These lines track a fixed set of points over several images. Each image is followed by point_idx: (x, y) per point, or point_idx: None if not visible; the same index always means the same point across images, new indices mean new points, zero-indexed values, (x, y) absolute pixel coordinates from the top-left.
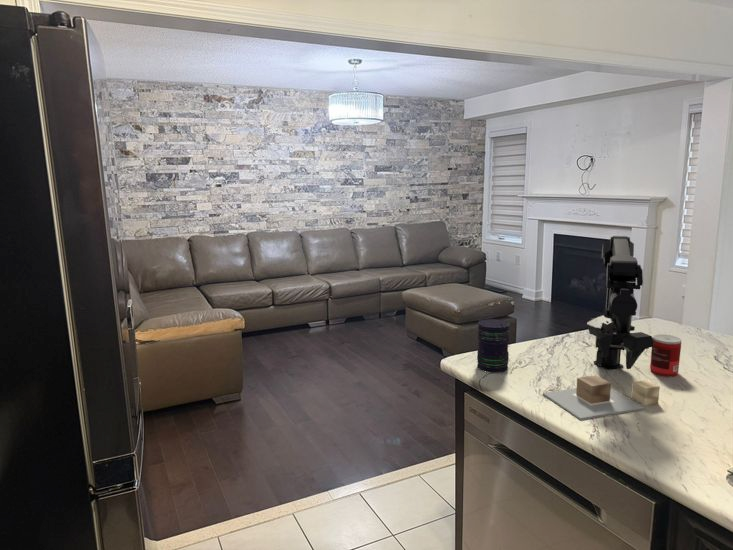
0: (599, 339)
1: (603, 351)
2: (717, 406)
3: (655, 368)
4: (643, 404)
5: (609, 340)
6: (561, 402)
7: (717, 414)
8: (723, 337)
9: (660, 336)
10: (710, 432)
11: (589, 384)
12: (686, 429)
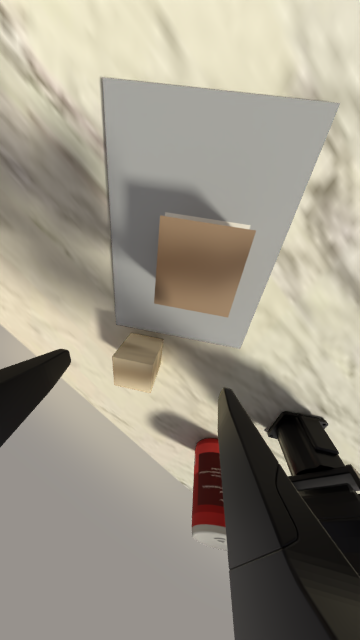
0: (297, 550)
1: (228, 416)
2: (100, 404)
3: (217, 449)
4: (132, 334)
5: (233, 538)
6: (228, 115)
7: (79, 385)
8: None
9: None
10: (28, 332)
11: (178, 220)
12: (38, 312)
